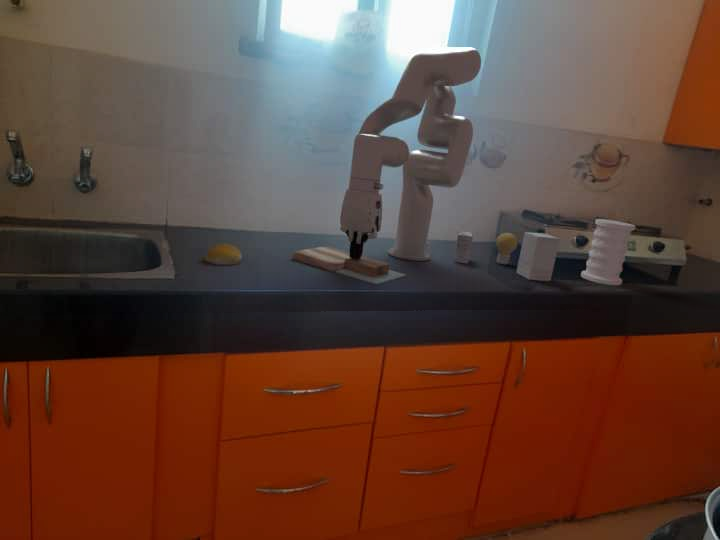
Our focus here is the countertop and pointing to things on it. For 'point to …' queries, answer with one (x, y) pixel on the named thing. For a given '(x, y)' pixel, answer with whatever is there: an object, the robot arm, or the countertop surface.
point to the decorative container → (608, 252)
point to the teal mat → (376, 280)
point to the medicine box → (463, 247)
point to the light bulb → (505, 247)
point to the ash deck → (323, 257)
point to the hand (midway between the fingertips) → (355, 257)
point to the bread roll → (223, 255)
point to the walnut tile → (367, 266)
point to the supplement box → (537, 256)
